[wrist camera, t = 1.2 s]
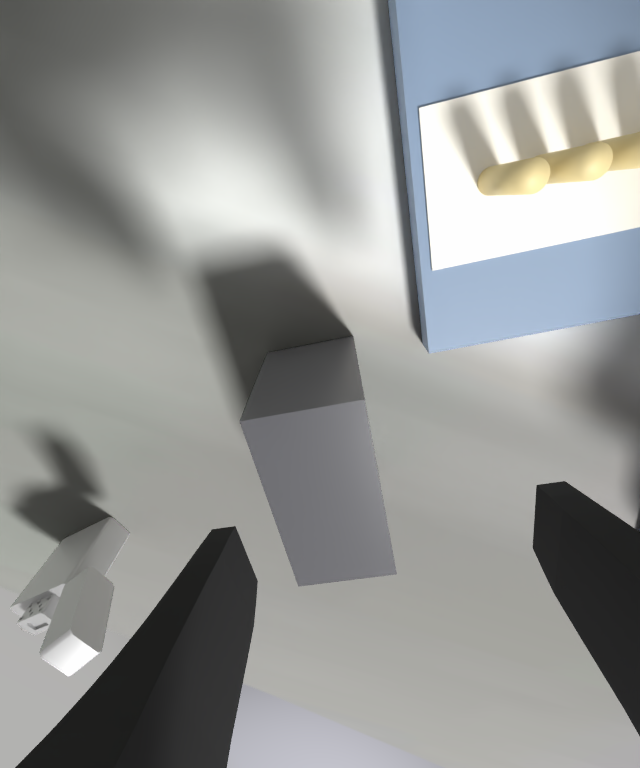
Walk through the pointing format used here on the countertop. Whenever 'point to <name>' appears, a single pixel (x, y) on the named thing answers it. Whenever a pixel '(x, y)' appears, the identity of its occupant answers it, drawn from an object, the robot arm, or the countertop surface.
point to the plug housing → (319, 462)
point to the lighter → (73, 596)
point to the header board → (520, 163)
